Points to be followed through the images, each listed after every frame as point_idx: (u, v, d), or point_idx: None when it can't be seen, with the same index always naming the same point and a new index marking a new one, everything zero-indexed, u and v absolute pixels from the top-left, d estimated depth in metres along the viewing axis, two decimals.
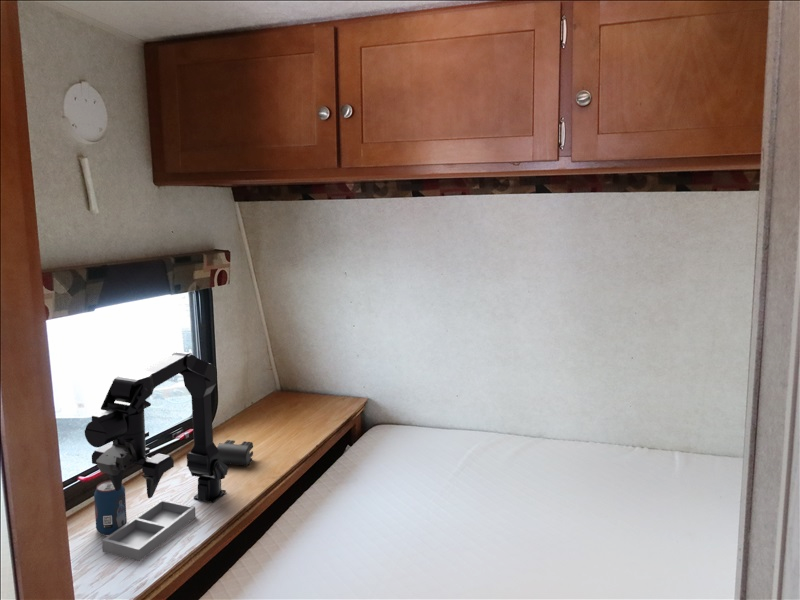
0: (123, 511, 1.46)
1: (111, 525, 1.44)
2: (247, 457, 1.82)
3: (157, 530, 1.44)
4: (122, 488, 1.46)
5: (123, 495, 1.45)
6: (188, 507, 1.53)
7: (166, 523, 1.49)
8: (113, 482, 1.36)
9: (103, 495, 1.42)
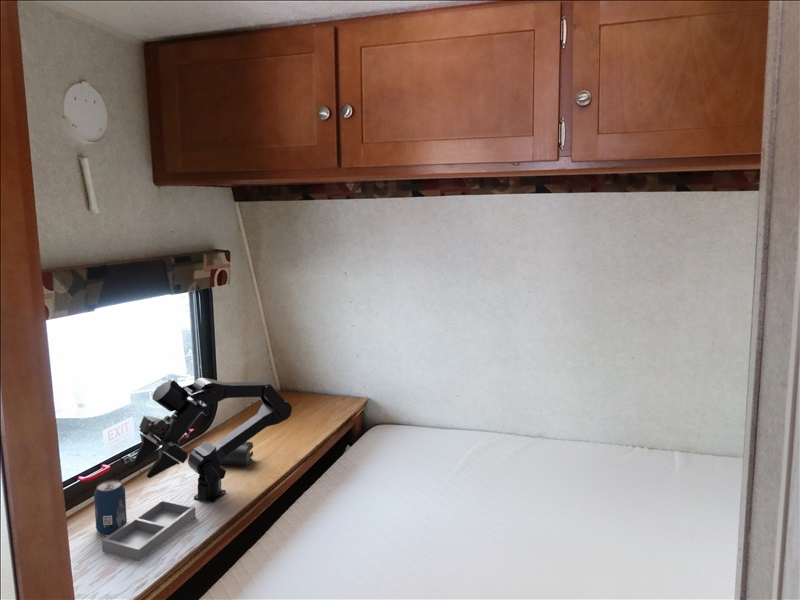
0: (123, 511, 1.46)
1: (111, 525, 1.44)
2: (247, 457, 1.82)
3: (157, 530, 1.44)
4: (122, 488, 1.46)
5: (123, 495, 1.45)
6: (188, 507, 1.53)
7: (166, 523, 1.49)
8: (137, 455, 1.54)
9: (103, 495, 1.42)
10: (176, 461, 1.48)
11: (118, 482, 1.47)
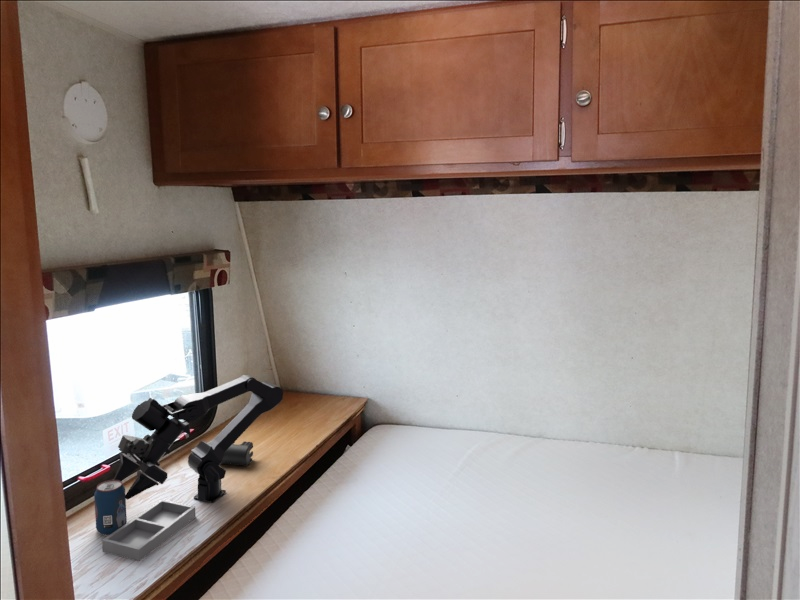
0: (123, 511, 1.46)
1: (111, 525, 1.44)
2: (247, 457, 1.82)
3: (157, 530, 1.44)
4: (122, 488, 1.46)
5: (123, 495, 1.45)
6: (188, 507, 1.53)
7: (166, 523, 1.49)
8: (116, 474, 1.51)
9: (103, 495, 1.42)
10: (155, 482, 1.45)
11: (118, 482, 1.47)
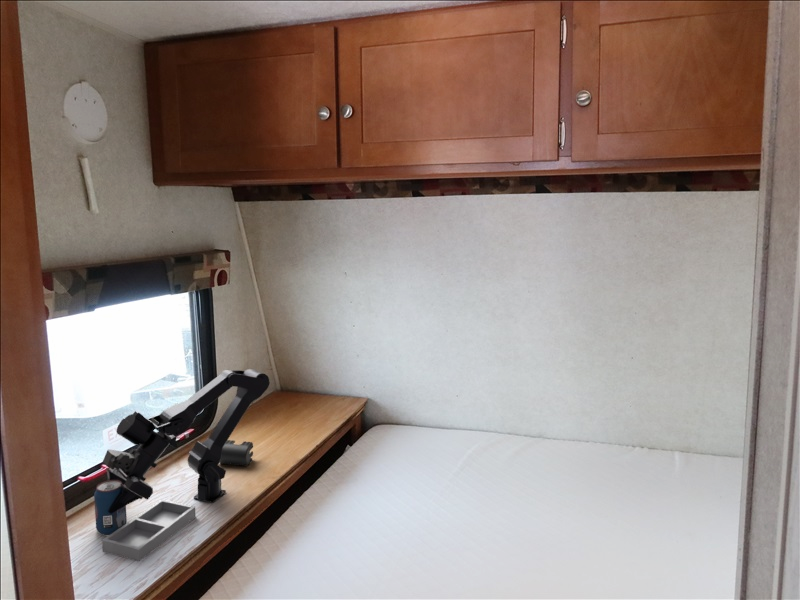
0: (123, 511, 1.46)
1: (111, 525, 1.44)
2: (247, 457, 1.82)
3: (157, 530, 1.44)
4: None
5: None
6: (188, 507, 1.53)
7: (166, 523, 1.49)
8: None
9: (103, 495, 1.42)
10: (139, 496, 1.43)
11: (118, 482, 1.47)
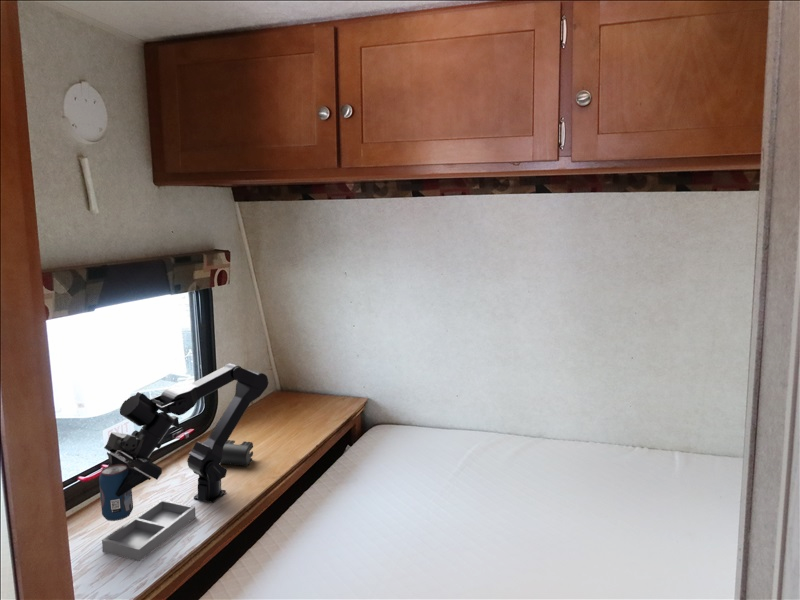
0: (130, 495, 1.43)
1: (120, 509, 1.40)
2: (247, 457, 1.82)
3: (157, 530, 1.44)
4: None
5: None
6: (188, 507, 1.53)
7: (166, 523, 1.49)
8: None
9: (110, 478, 1.39)
10: (147, 477, 1.41)
11: (122, 466, 1.44)
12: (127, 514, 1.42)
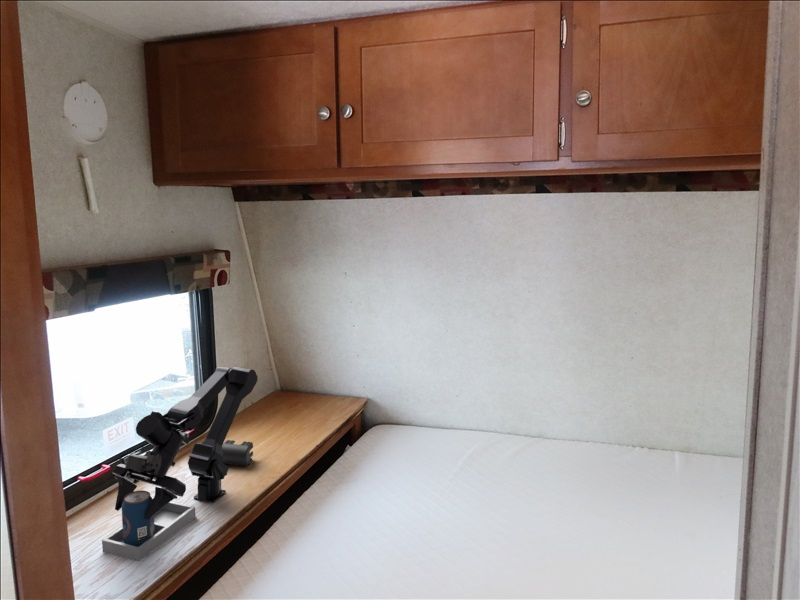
0: (153, 520, 1.41)
1: (146, 536, 1.38)
2: (247, 457, 1.82)
3: (157, 530, 1.44)
4: (151, 497, 1.41)
5: None
6: (188, 507, 1.53)
7: (166, 523, 1.49)
8: (118, 499, 1.41)
9: (137, 506, 1.36)
10: (175, 496, 1.40)
11: (143, 492, 1.41)
12: None
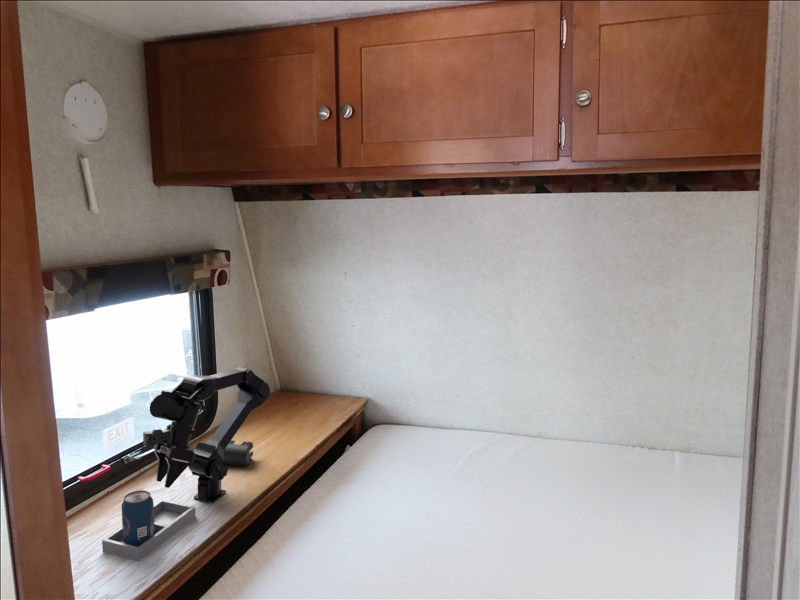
0: (153, 520, 1.41)
1: (146, 536, 1.38)
2: (247, 457, 1.82)
3: (157, 530, 1.44)
4: (151, 497, 1.41)
5: None
6: (188, 507, 1.53)
7: (166, 523, 1.49)
8: (157, 471, 1.53)
9: (137, 506, 1.36)
10: (186, 462, 1.45)
11: (143, 492, 1.41)
12: None
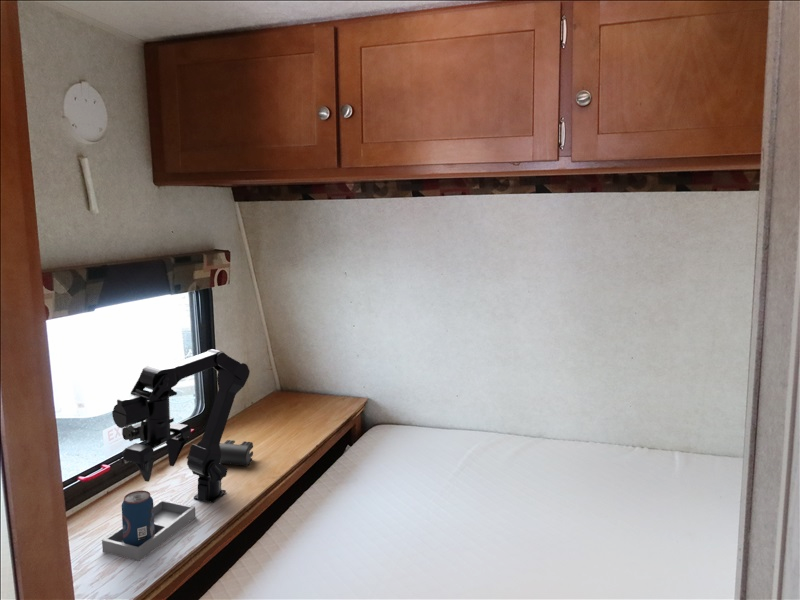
0: (153, 520, 1.41)
1: (146, 536, 1.38)
2: (247, 457, 1.82)
3: (157, 530, 1.44)
4: (151, 497, 1.41)
5: None
6: (188, 507, 1.53)
7: (166, 523, 1.49)
8: None
9: (137, 506, 1.36)
10: None
11: (143, 492, 1.41)
12: None
